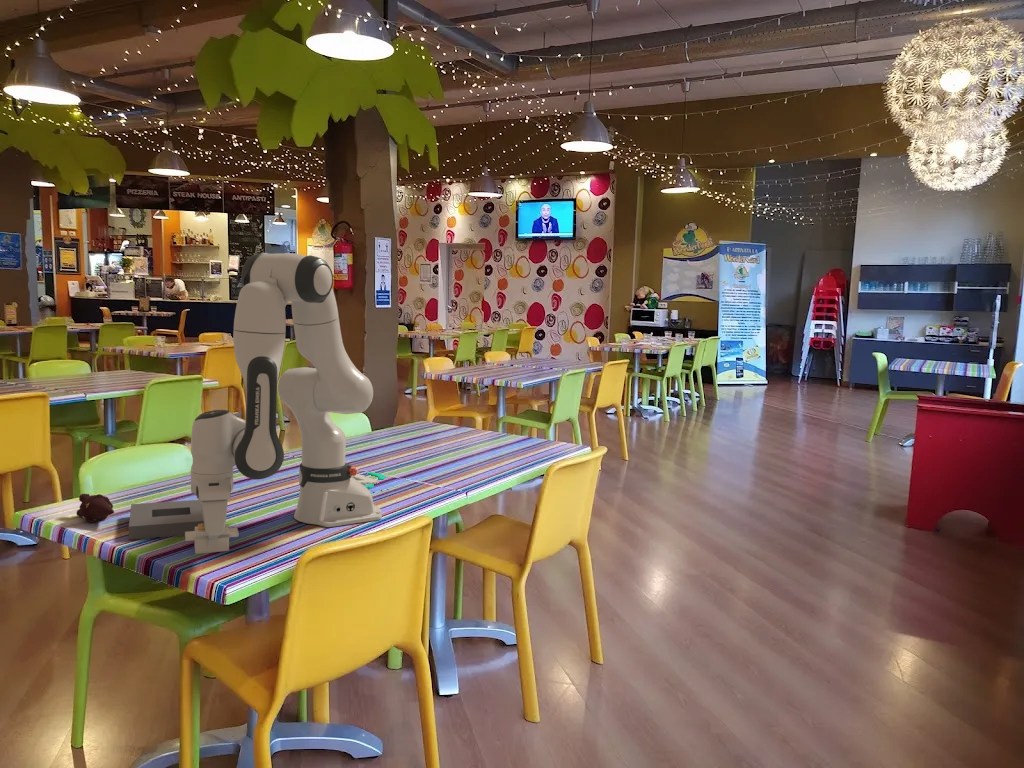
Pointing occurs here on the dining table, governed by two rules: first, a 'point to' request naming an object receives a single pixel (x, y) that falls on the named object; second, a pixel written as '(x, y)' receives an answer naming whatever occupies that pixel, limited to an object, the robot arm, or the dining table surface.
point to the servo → (202, 539)
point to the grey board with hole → (164, 519)
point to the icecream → (94, 507)
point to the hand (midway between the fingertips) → (211, 542)
